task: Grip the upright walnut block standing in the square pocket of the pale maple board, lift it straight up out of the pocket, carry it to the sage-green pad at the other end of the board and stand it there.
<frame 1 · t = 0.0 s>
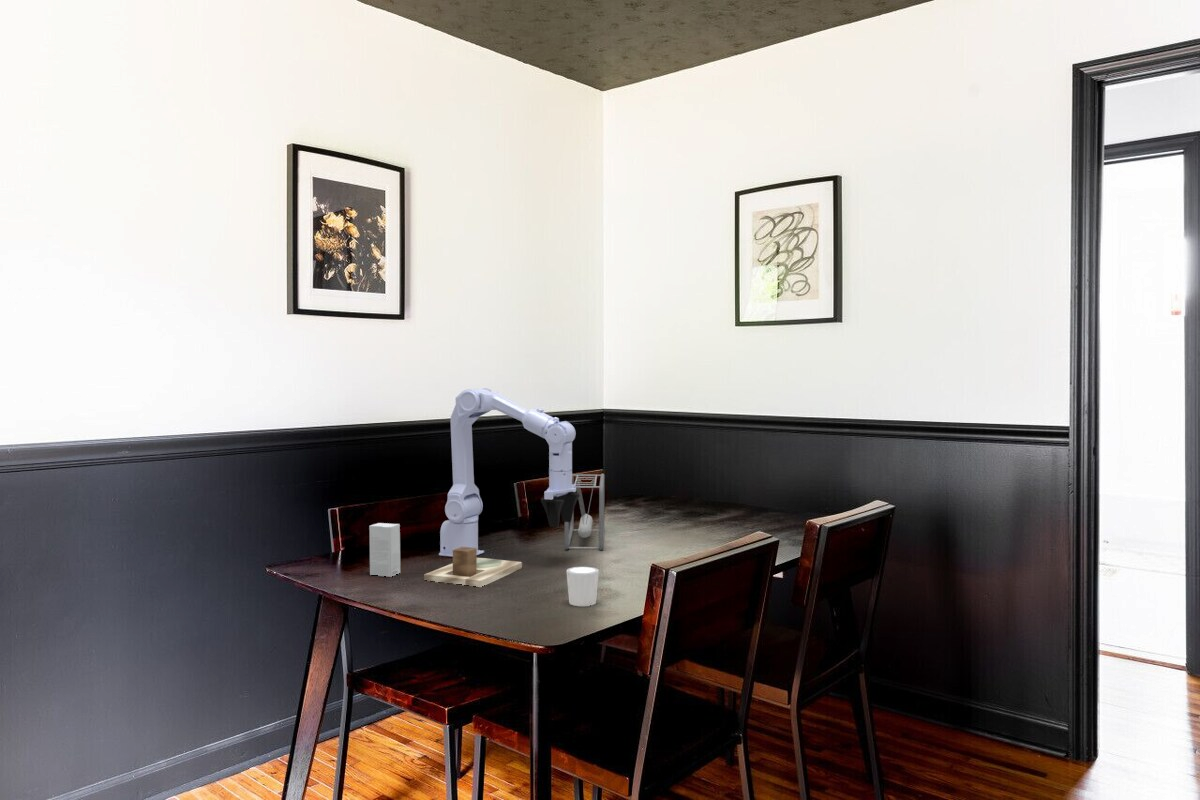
hand: (560, 524, 214), 10 cm above the table, tool pointing down, fingers open, 7 cm apart
skincare box: (385, 575, 203), on the table
block: (464, 578, 199), resting in board
board: (474, 574, 203), on the table
shot glass: (582, 603, 179), on the table
newton's cradle: (585, 541, 244), on the table
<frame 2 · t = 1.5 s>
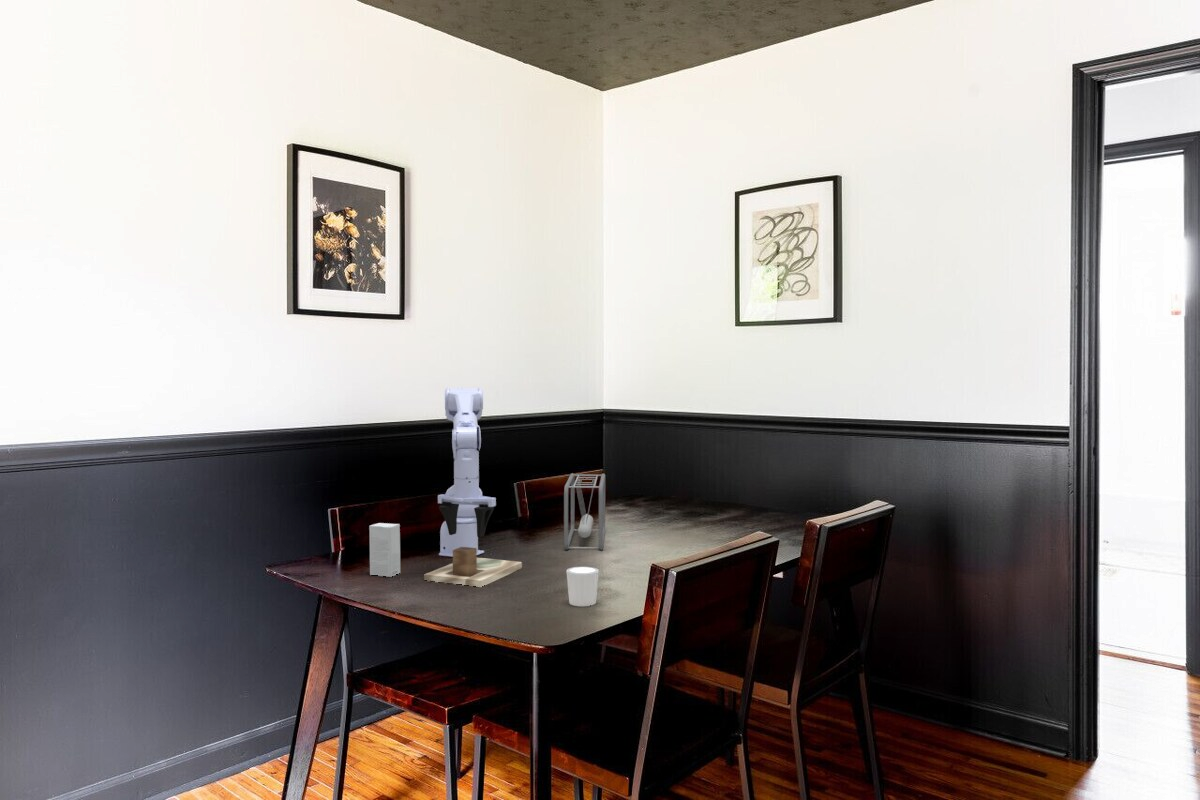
hand: (466, 535, 200), 10 cm above the table, tool pointing down, fingers open, 7 cm apart
nothing on the table moved.
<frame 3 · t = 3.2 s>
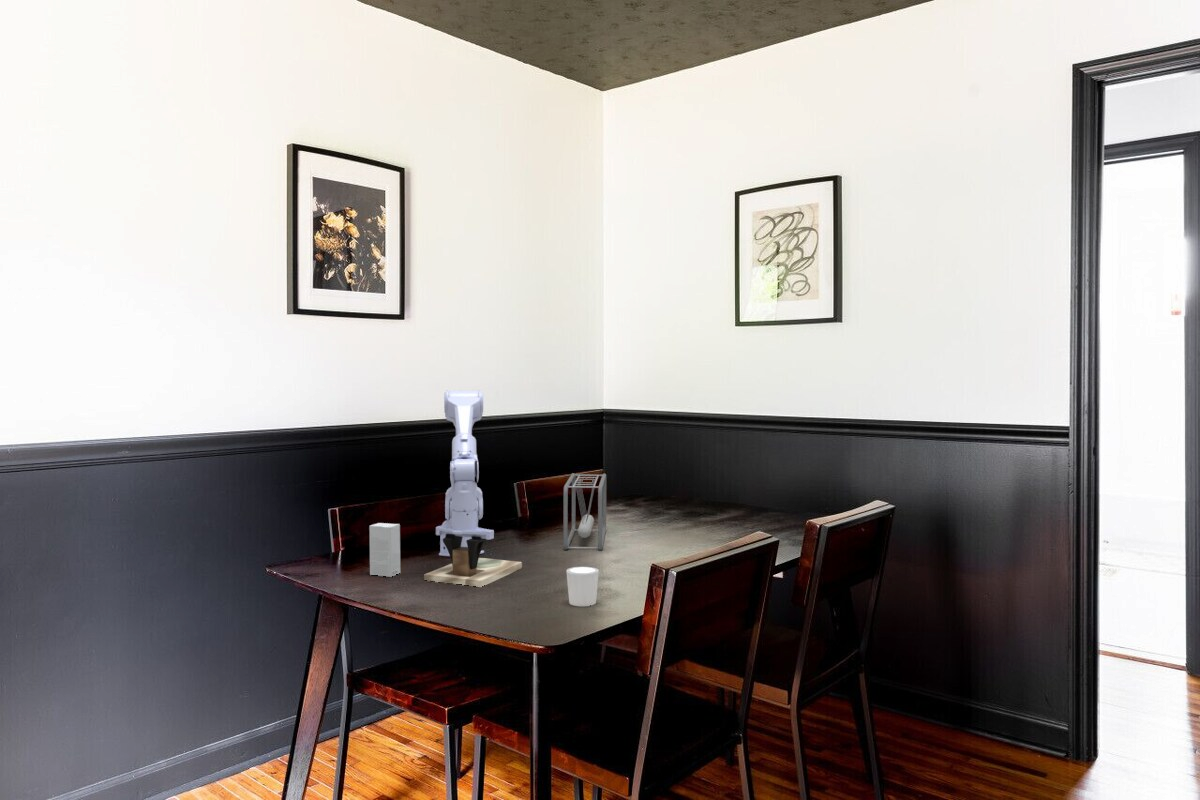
hand: (464, 567, 199), 3 cm above the table, tool pointing down, fingers closed on block, 4 cm apart
block: (464, 578, 199), resting in board, touching gripper
everything else where it was.
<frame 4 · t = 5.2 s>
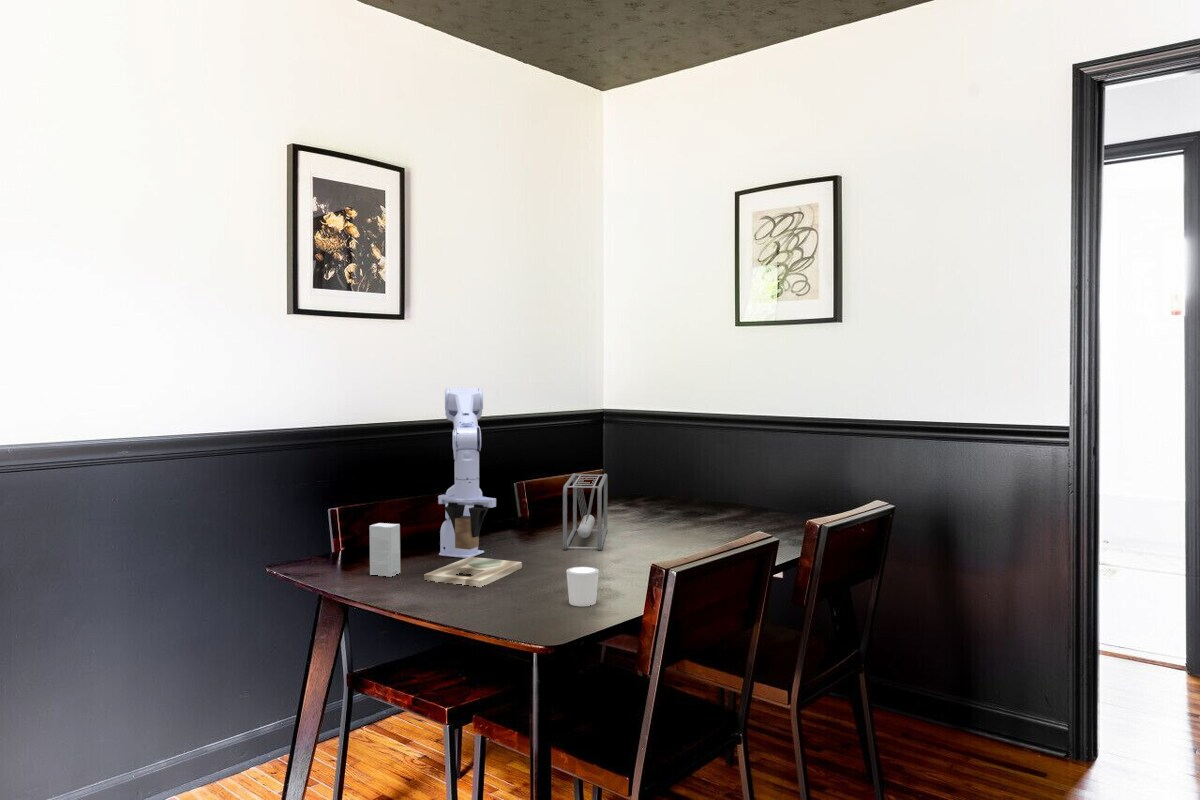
hand: (467, 535, 200), 10 cm above the table, tool pointing down, fingers closed on block, 4 cm apart
block: (467, 547, 200), point 7 cm above the table, touching gripper
everything else where it was.
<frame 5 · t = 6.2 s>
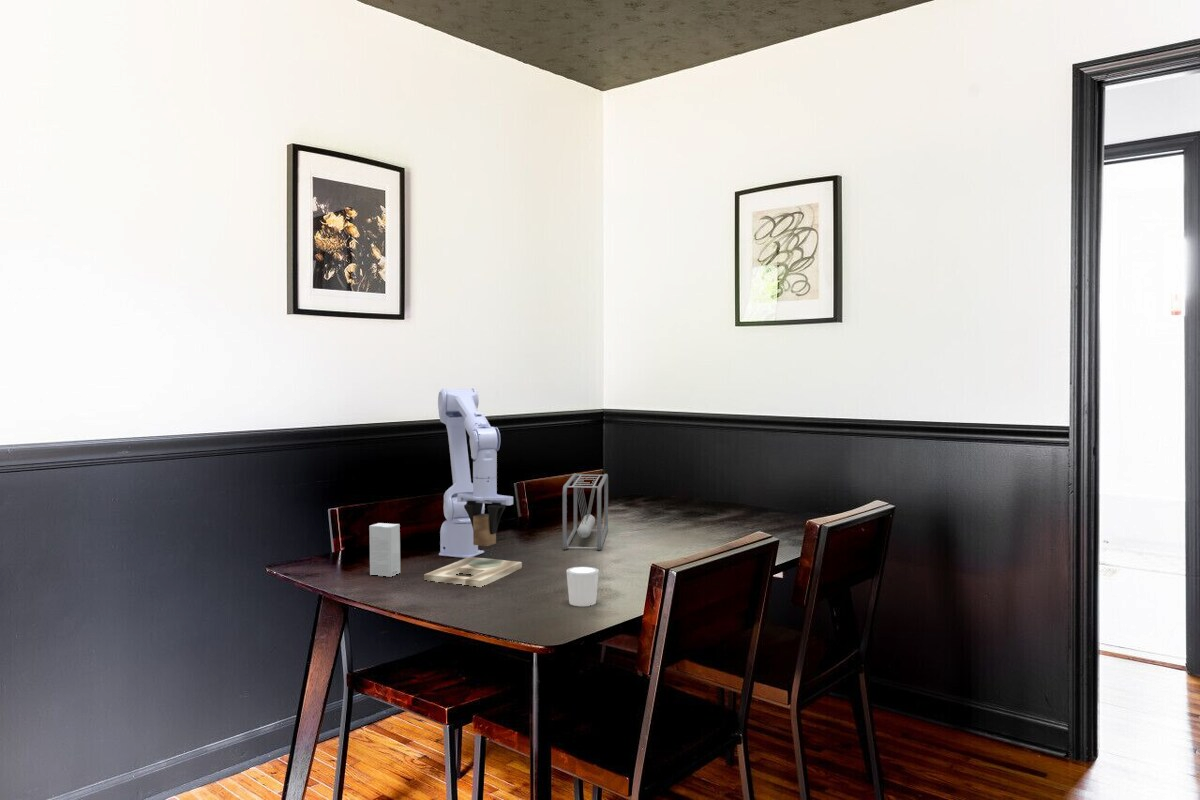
hand: (485, 532, 208), 9 cm above the table, tool pointing down, fingers closed on block, 4 cm apart
block: (484, 544, 208), point 6 cm above the table, touching gripper
everything else where it was.
when the fingers open (5 cm above the table, at t = 7.2 s): block stays where it is, resting on board.
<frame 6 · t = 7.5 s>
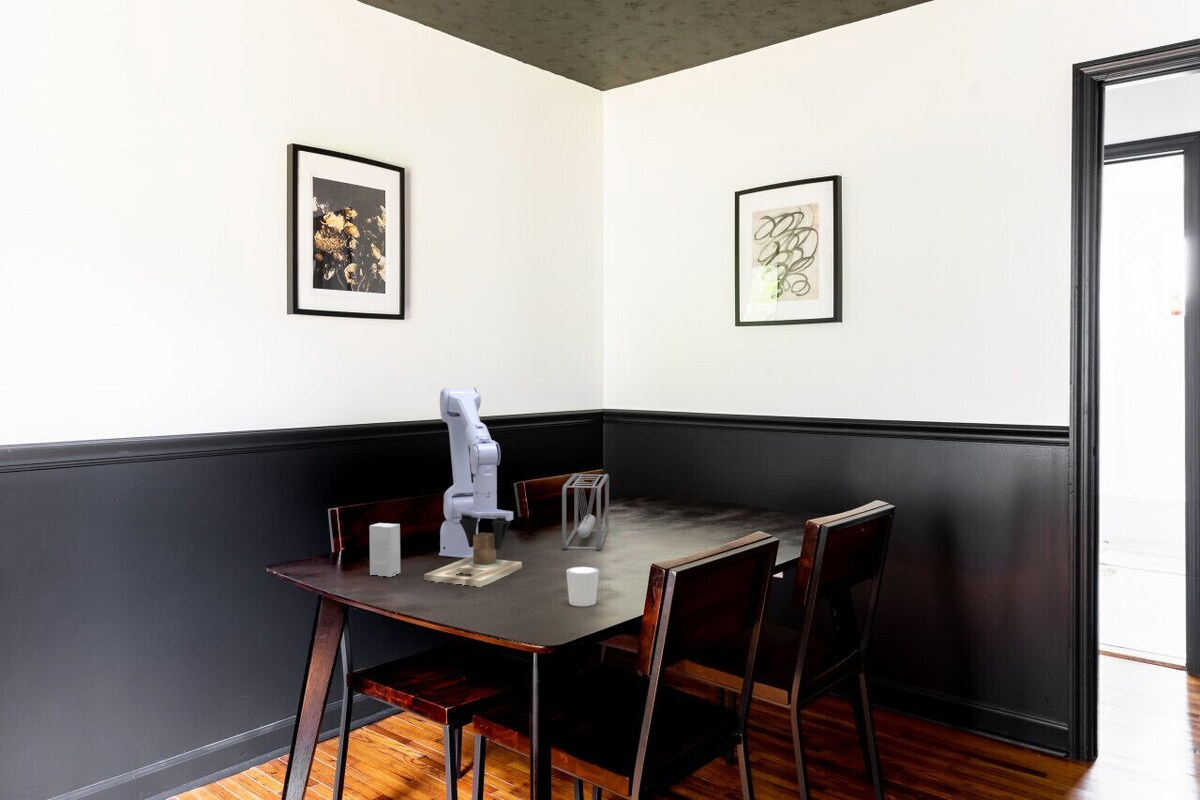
hand: (485, 547, 208), 5 cm above the table, tool pointing down, fingers open, 7 cm apart
block: (484, 562, 208), point 2 cm above the table, touching board
everything else where it was.
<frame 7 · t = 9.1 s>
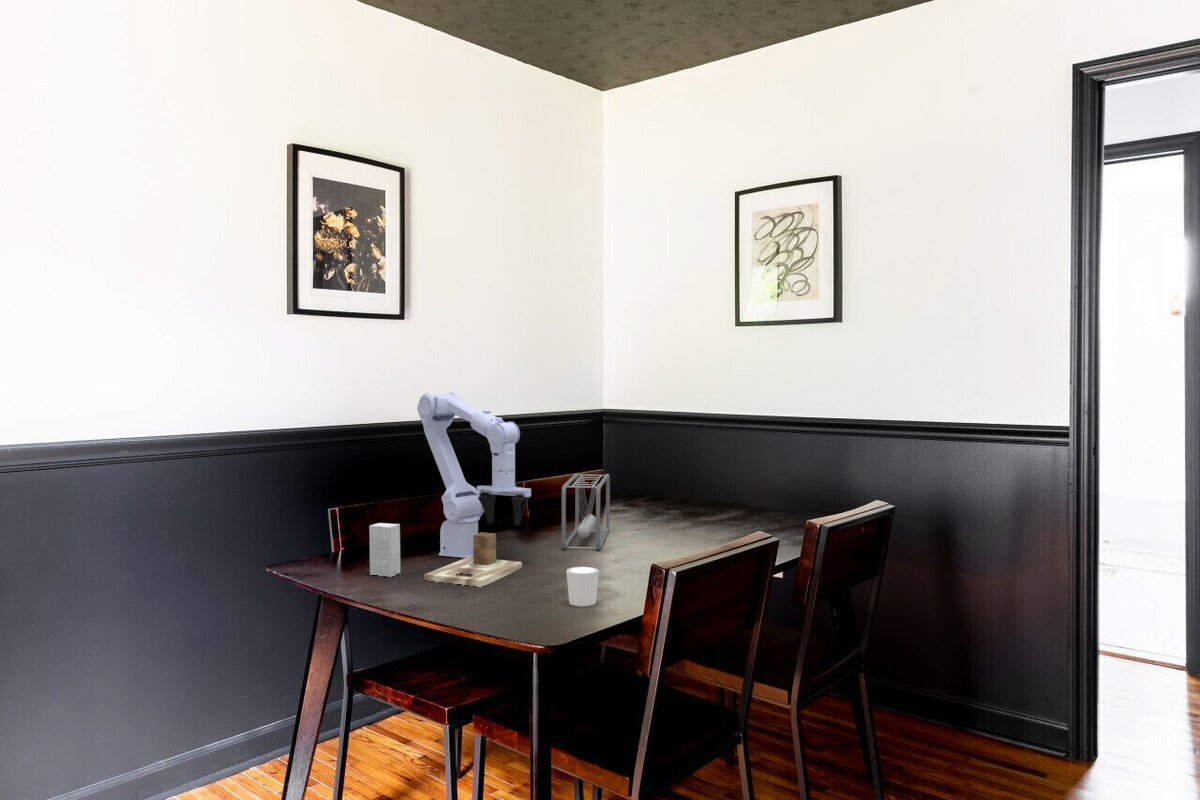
hand: (503, 523, 215), 10 cm above the table, tool pointing down, fingers open, 7 cm apart
nothing on the table moved.
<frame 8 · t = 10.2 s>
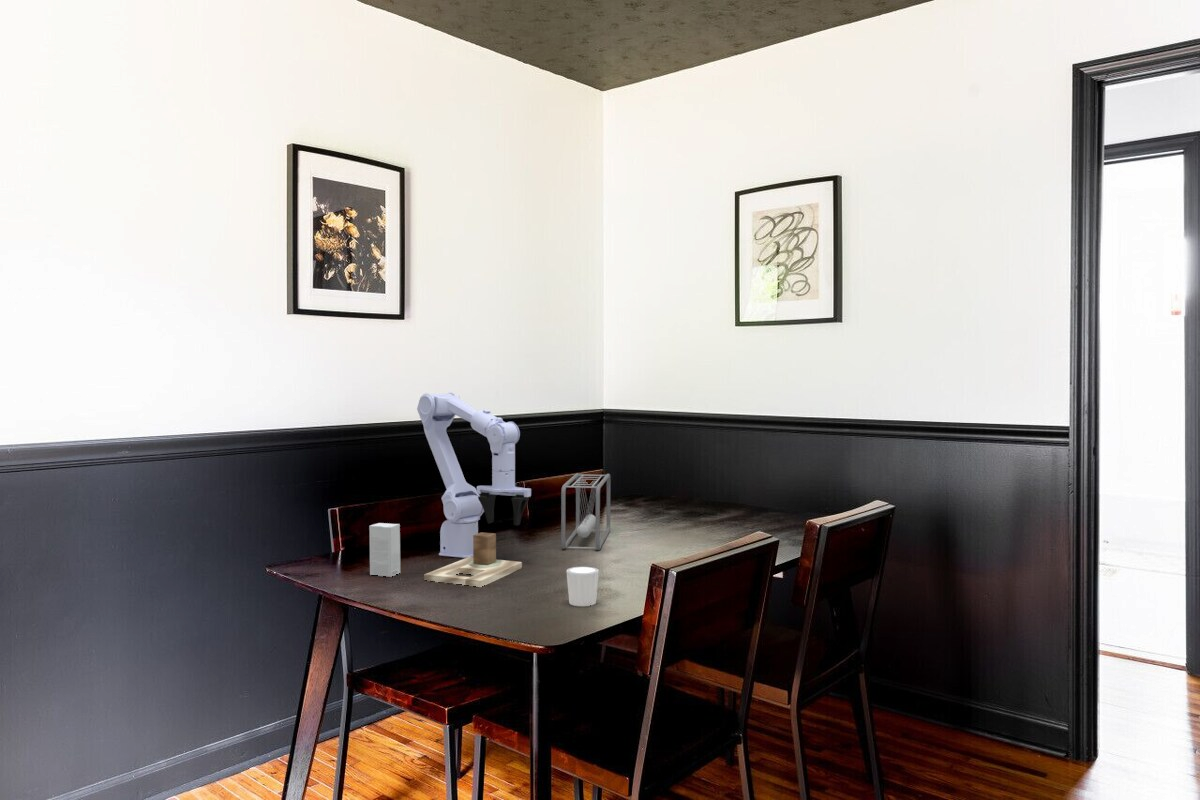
hand: (503, 523, 215), 10 cm above the table, tool pointing down, fingers open, 7 cm apart
nothing on the table moved.
at the end: block inside the target area on the board (0.2 cm from its centre), point 1.7 cm above the board's base; block tilted 0°; the gripper is holding nothing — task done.
